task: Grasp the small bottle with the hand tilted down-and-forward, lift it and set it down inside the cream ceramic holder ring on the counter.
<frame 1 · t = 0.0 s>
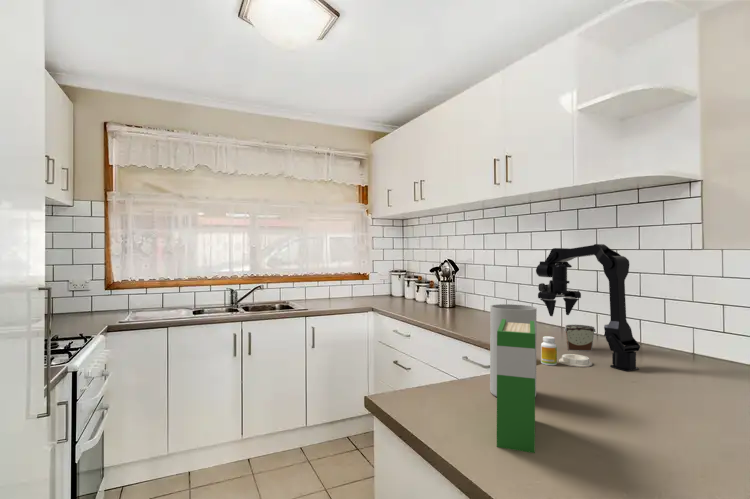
hand: (559, 315, 172), 15 cm above the countertop, tool pointing down, fingers open, 9 cm apart
hardback book: (516, 433, 93), on the countertop
holder ring: (575, 362, 153), on the countertop
cylinder vase: (512, 395, 118), on the countertop
supplement bottle: (548, 364, 152), on the countertop
food container: (577, 349, 176), on the countertop
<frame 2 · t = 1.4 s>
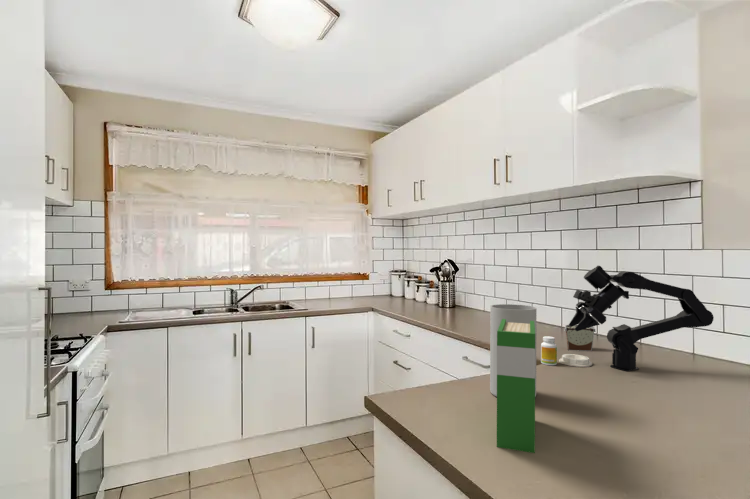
hand: (572, 328, 150), 13 cm above the countertop, tool tilted 45°, fingers open, 9 cm apart
nothing on the countertop moved.
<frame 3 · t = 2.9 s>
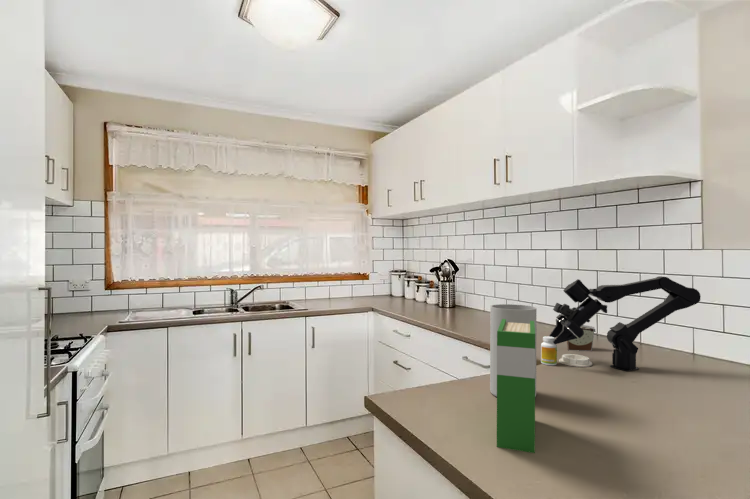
hand: (551, 340, 151), 8 cm above the countertop, tool tilted 45°, fingers open, 9 cm apart
nothing on the countertop moved.
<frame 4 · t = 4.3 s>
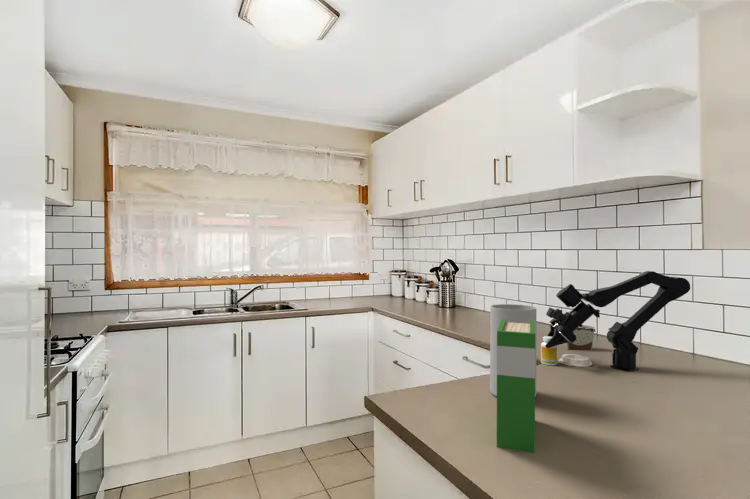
hand: (544, 345, 152), 7 cm above the countertop, tool tilted 45°, fingers closed on supplement bottle, 5 cm apart
supplement bottle: (548, 364, 152), on the countertop, touching gripper
everything else where it was.
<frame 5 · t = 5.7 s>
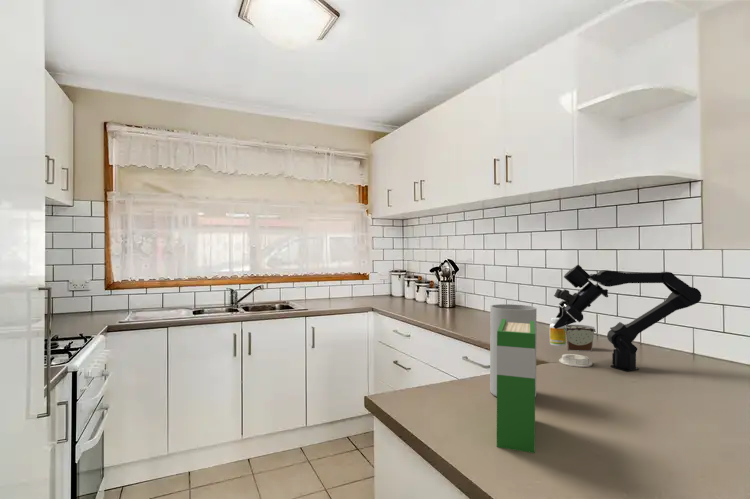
hand: (553, 326, 153), 13 cm above the countertop, tool tilted 45°, fingers closed on supplement bottle, 5 cm apart
supplement bottle: (557, 345, 152), point 7 cm above the countertop, touching gripper
everything else where it was.
when the fingers open (9 cm above the countertop, at t = 7.3 s): supplement bottle drops 2 cm, resting on holder ring.
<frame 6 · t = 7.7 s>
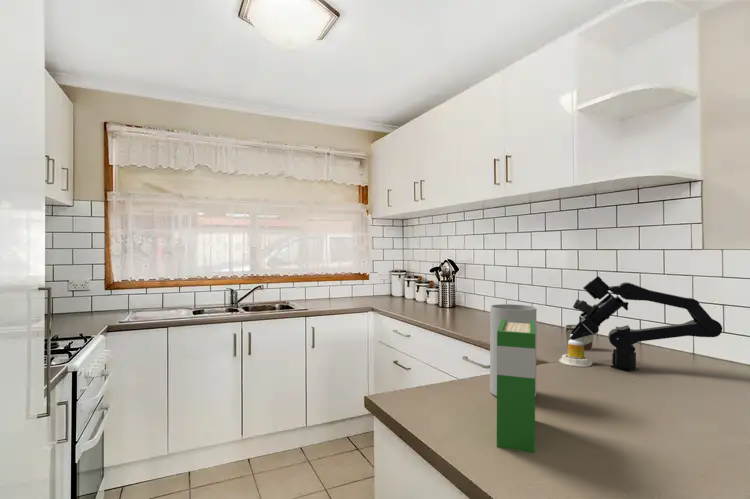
hand: (571, 336, 154), 10 cm above the countertop, tool tilted 45°, fingers open, 9 cm apart
supplement bottle: (575, 361, 153), resting on holder ring
everything else where it was.
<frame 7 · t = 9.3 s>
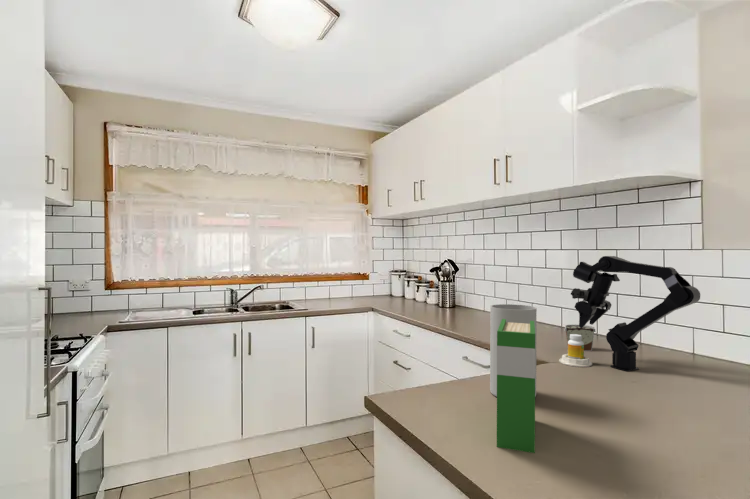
hand: (585, 325, 157), 13 cm above the countertop, tool tilted 20°, fingers open, 9 cm apart
nothing on the countertop moved.
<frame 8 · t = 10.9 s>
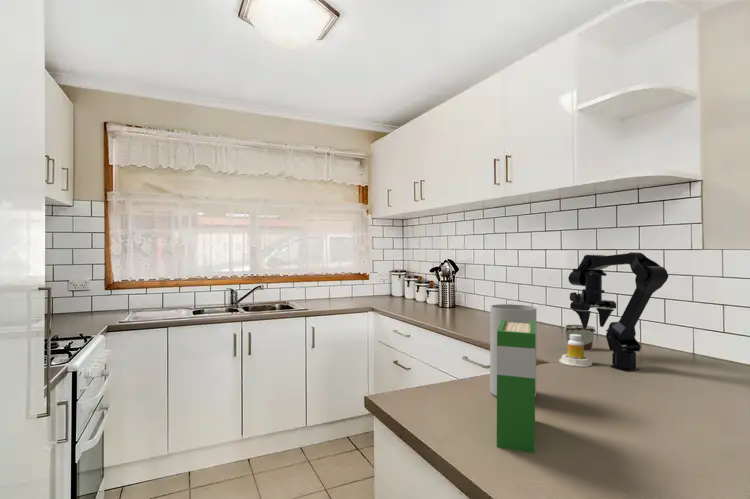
hand: (593, 327, 160), 12 cm above the countertop, tool pointing down, fingers open, 9 cm apart
nothing on the countertop moved.
at the end: supplement bottle 0.1 cm off-centre on the holder ring, point 0.4 cm above the holder ring's base; supplement bottle tilted 0°; the gripper is holding nothing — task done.
